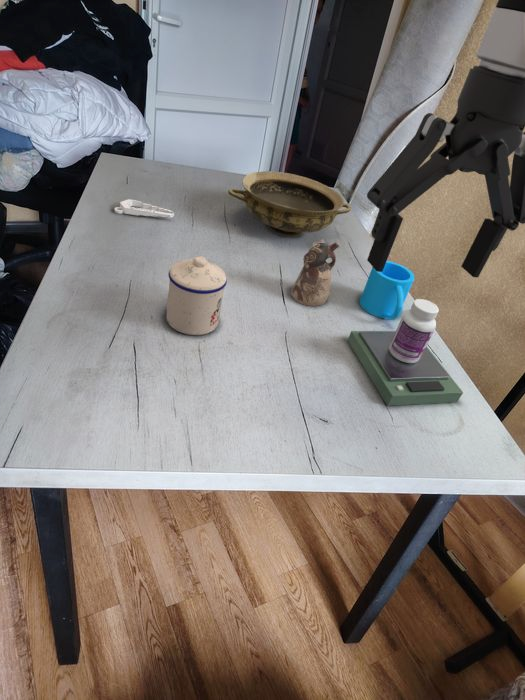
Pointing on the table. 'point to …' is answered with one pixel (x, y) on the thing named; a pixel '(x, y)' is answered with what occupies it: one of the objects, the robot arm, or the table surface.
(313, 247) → the figurine
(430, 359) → the scale pan
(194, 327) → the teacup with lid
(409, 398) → the scale
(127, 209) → the white flat elongated piece
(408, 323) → the pill bottle
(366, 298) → the mug
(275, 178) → the ceramic bowl
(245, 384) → the table surface
